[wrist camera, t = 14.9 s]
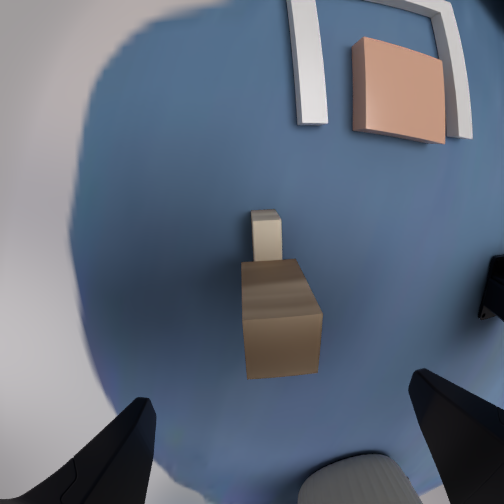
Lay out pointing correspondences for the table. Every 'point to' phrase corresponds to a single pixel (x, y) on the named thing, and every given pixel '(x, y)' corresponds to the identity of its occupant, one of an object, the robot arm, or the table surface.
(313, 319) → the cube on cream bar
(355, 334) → the table surface
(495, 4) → the table surface
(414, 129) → the tile
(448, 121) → the corral
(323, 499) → the canister
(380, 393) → the table surface
